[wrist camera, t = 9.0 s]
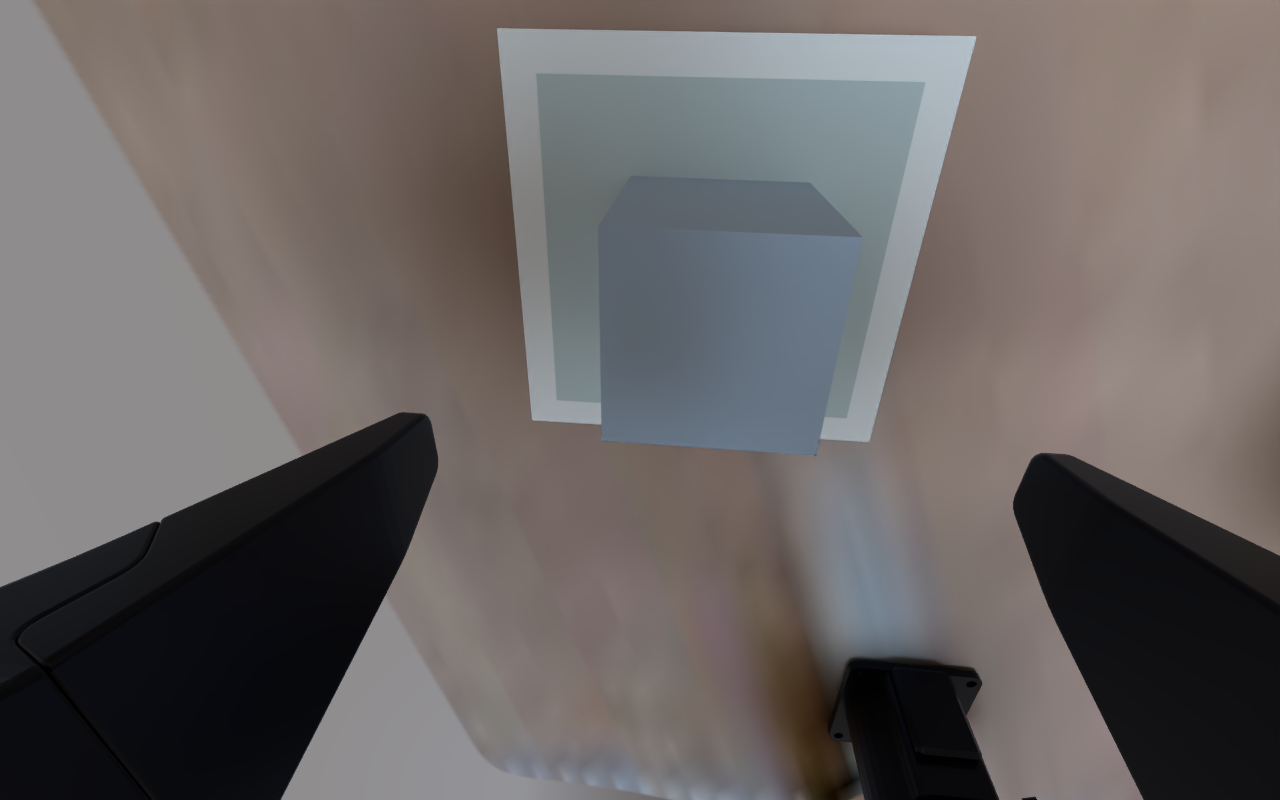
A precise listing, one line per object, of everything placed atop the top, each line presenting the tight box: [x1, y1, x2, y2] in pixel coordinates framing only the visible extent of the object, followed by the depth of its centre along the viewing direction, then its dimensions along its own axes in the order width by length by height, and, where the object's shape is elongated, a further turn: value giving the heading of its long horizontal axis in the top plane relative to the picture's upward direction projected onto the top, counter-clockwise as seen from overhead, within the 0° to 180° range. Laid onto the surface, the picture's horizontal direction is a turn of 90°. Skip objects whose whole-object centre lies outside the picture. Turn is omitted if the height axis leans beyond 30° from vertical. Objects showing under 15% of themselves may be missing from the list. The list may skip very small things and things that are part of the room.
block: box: [598, 176, 863, 456], centre depth 15 cm, size 5×5×6 cm
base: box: [497, 28, 976, 442], centre depth 18 cm, size 12×12×3 cm
